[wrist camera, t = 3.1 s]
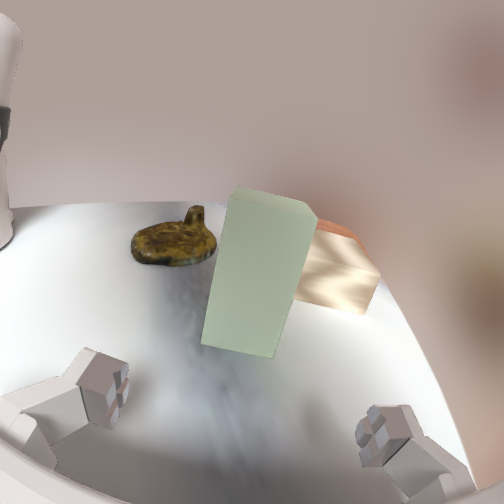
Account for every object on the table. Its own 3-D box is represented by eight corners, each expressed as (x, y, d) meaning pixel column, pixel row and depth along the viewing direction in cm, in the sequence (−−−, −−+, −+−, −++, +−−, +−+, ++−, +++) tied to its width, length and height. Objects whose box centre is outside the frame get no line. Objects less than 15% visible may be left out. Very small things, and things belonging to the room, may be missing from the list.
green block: (200, 343, 19) (229, 197, 16) (211, 306, 24) (237, 185, 21) (272, 358, 20) (318, 219, 16) (270, 320, 24) (305, 202, 21)
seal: (184, 292, 28) (225, 245, 42) (196, 248, 26) (236, 215, 40) (106, 254, 28) (167, 222, 42) (113, 212, 27) (175, 191, 41)
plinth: (249, 291, 29) (262, 243, 27) (259, 251, 40) (268, 216, 39) (362, 317, 29) (381, 274, 27) (343, 273, 40) (354, 239, 38)
